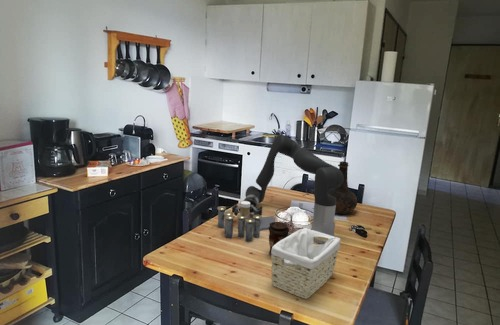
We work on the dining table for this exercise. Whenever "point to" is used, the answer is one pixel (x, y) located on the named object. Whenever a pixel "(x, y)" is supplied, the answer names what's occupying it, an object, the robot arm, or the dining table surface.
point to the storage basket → (303, 262)
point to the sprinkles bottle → (245, 209)
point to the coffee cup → (277, 233)
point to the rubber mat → (266, 222)
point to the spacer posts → (239, 224)
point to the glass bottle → (344, 194)
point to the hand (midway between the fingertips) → (245, 214)
